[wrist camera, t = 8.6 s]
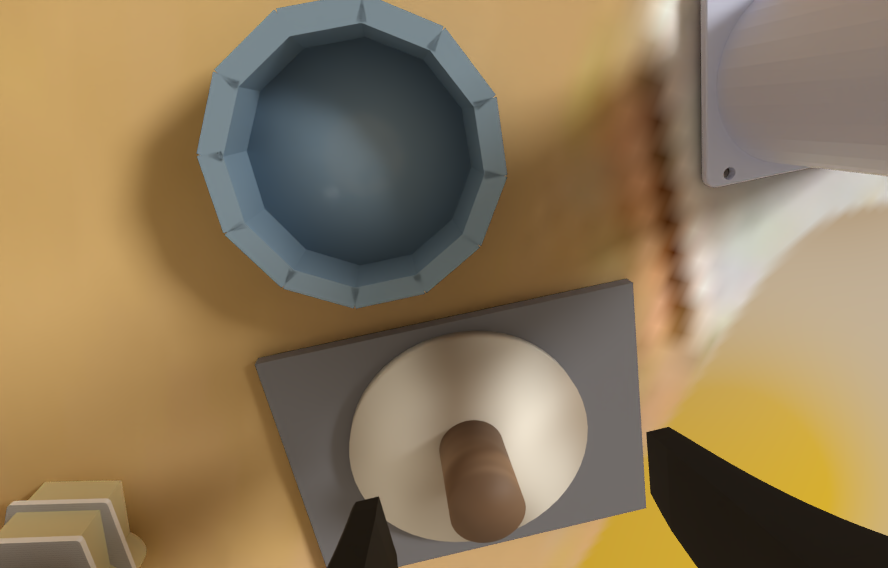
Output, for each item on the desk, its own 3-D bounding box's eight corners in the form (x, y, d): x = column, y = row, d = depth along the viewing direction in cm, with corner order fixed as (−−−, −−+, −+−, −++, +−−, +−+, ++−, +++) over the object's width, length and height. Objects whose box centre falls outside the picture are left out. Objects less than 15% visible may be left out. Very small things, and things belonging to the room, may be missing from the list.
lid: (540, 291, 22) (581, 338, 17) (607, 478, 26) (655, 555, 21) (307, 390, 22) (287, 460, 18) (408, 559, 26) (412, 653, 21)
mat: (626, 278, 23) (632, 282, 22) (640, 499, 27) (646, 507, 26) (258, 358, 22) (254, 364, 21) (333, 572, 26) (331, 582, 26)
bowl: (463, -5, 18) (479, -29, 15) (502, 251, 22) (520, 273, 19) (193, 45, 18) (153, 31, 15) (274, 299, 21) (256, 329, 18)
